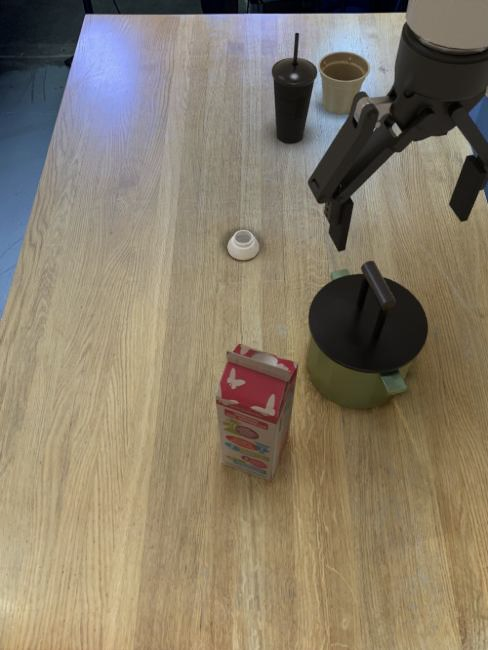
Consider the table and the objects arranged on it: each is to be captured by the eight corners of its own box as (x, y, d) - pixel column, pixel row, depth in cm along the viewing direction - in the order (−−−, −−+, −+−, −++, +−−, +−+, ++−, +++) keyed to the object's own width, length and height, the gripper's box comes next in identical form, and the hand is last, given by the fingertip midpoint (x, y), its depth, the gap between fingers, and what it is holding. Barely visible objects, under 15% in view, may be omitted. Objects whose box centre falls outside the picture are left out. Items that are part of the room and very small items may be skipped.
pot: (373, 301, 90) (386, 255, 81) (429, 411, 80) (452, 372, 71) (287, 322, 88) (291, 278, 79) (334, 438, 78) (345, 401, 69)
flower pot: (349, 128, 113) (356, 87, 106) (305, 111, 116) (309, 71, 109) (370, 101, 117) (378, 60, 110) (327, 86, 120) (332, 45, 113)
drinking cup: (316, 130, 112) (328, 27, 96) (301, 155, 109) (310, 52, 92) (278, 120, 114) (284, 16, 98) (262, 144, 110) (265, 40, 94)
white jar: (221, 246, 96) (238, 266, 94) (221, 233, 94) (238, 253, 92) (247, 233, 98) (265, 252, 96) (247, 220, 96) (265, 240, 93)
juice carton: (240, 418, 79) (238, 325, 61) (288, 435, 78) (300, 345, 60) (221, 463, 76) (213, 378, 58) (271, 482, 74) (278, 401, 56)
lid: (395, 268, 81) (411, 221, 73) (446, 358, 73) (469, 316, 65) (291, 293, 79) (296, 247, 71) (332, 389, 71) (342, 348, 63)
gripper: (573, -24, 48) (488, 177, 66) (278, 30, 45) (272, 227, 62) (632, 25, 44) (525, 225, 62) (313, 88, 41) (296, 282, 58)
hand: (398, 227), depth 62 cm, fingers open, 13 cm apart
